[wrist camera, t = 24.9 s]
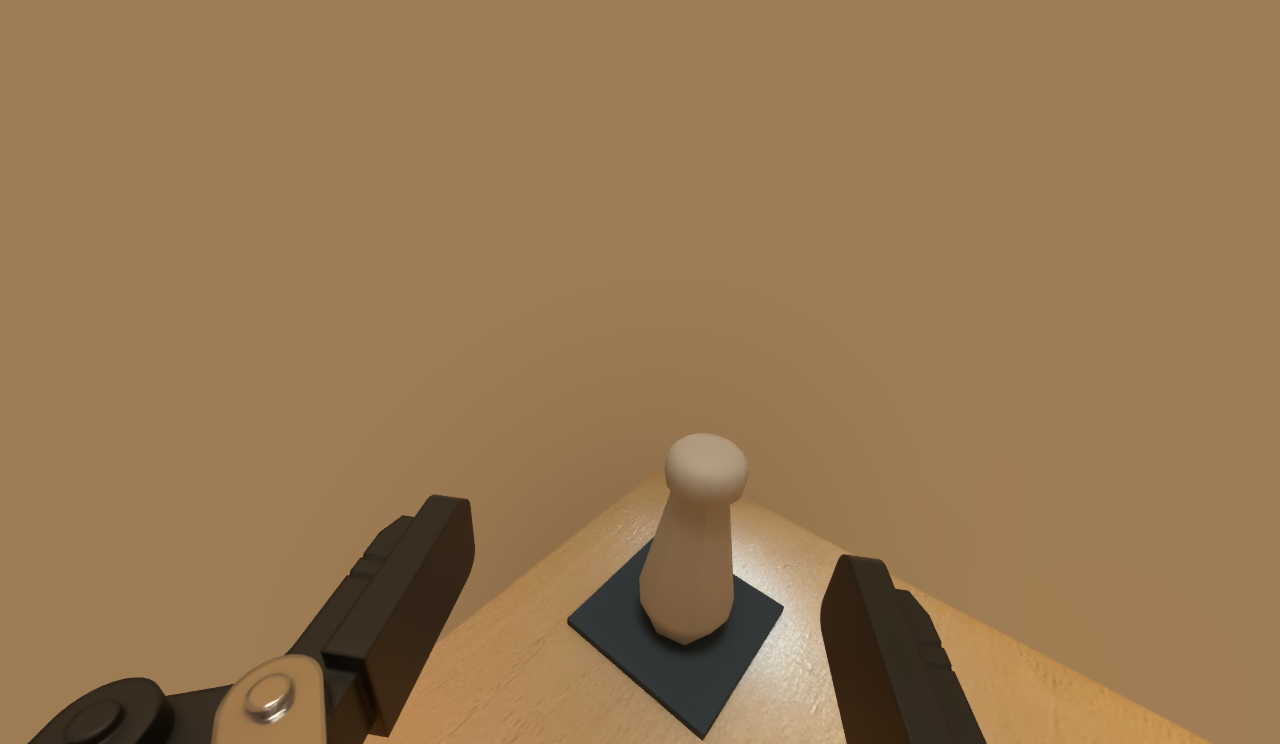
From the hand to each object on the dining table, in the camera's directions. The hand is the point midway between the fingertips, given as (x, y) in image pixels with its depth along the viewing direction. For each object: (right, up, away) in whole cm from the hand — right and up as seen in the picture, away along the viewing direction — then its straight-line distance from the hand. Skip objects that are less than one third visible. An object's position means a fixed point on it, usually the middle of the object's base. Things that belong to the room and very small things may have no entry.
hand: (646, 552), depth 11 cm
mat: (+2, -12, +21) cm, 24 cm away
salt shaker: (+2, -12, +21) cm, 24 cm away
